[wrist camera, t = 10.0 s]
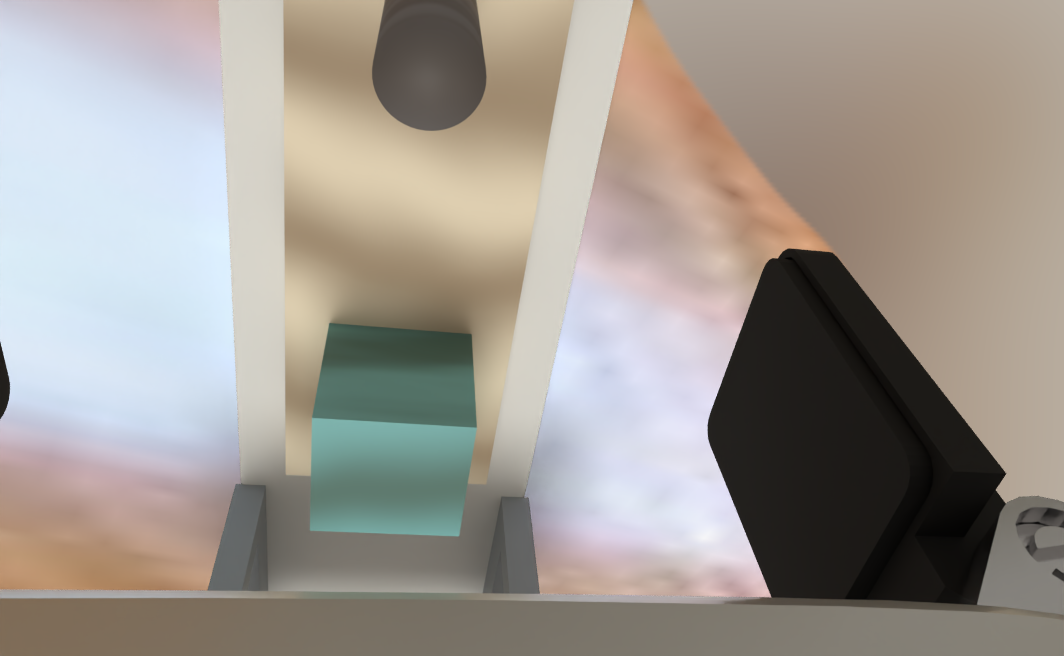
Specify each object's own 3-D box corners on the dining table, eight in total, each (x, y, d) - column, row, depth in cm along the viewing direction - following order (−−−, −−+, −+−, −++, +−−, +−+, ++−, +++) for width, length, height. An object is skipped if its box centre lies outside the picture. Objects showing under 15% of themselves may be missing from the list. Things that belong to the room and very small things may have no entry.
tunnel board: (208, -141, 24) (69, -61, 15) (649, -69, 26) (761, 39, 17) (248, 670, 45) (201, 902, 36) (486, 672, 47) (497, 892, 38)
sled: (288, -117, 23) (228, -54, 16) (580, -70, 24) (634, 6, 17) (289, 457, 34) (254, 627, 28) (484, 467, 36) (495, 632, 29)
